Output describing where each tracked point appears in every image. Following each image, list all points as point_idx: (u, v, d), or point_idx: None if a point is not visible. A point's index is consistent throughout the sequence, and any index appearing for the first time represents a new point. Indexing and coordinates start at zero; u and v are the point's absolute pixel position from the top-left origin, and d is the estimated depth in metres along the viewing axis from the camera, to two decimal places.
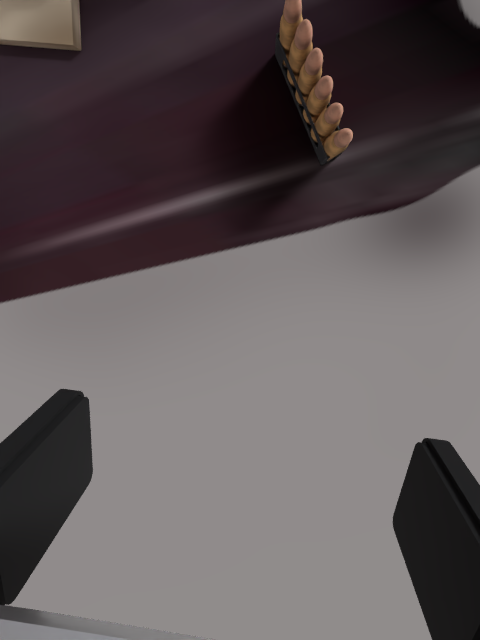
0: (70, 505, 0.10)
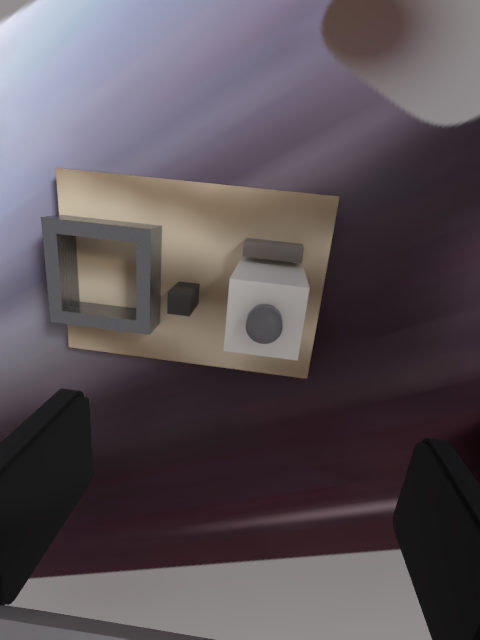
0: (70, 505, 0.10)
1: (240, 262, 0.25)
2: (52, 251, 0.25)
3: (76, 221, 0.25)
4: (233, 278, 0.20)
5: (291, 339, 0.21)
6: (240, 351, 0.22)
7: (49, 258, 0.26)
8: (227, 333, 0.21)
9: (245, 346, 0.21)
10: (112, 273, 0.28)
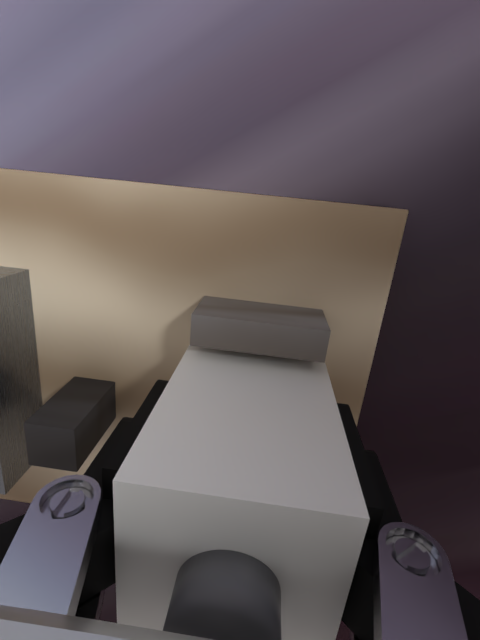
0: None
1: (185, 359, 0.11)
2: None
3: None
4: (127, 475, 0.06)
5: (307, 634, 0.07)
6: None
7: None
8: (123, 608, 0.07)
9: None
10: None
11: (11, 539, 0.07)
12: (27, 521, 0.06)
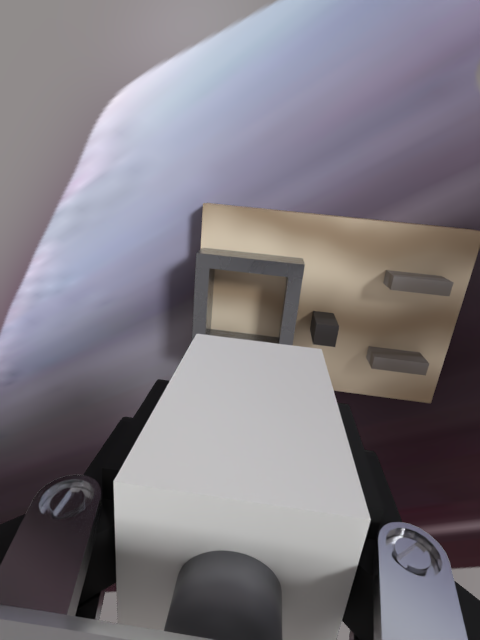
0: None
1: (185, 359, 0.11)
2: (203, 284, 0.26)
3: (230, 256, 0.26)
4: (128, 475, 0.06)
5: (308, 635, 0.07)
6: None
7: (199, 291, 0.27)
8: (124, 609, 0.07)
9: None
10: (247, 302, 0.29)
11: (11, 539, 0.07)
12: (27, 521, 0.06)
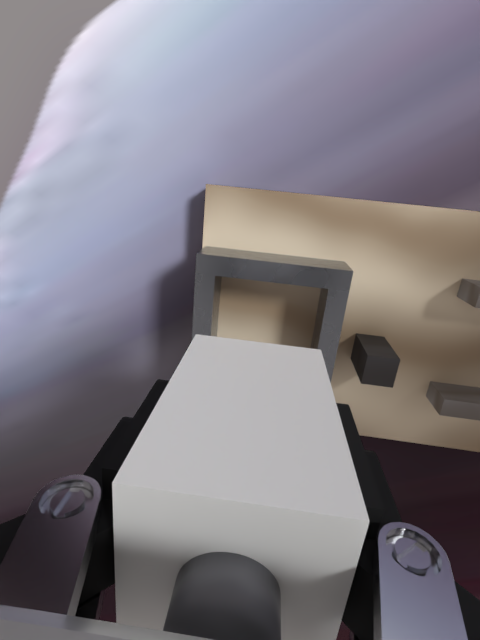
0: None
1: (184, 360, 0.11)
2: (205, 298, 0.19)
3: (245, 259, 0.18)
4: (126, 477, 0.06)
5: (306, 637, 0.07)
6: None
7: (200, 308, 0.19)
8: (122, 610, 0.07)
9: None
10: (265, 321, 0.21)
11: (11, 539, 0.07)
12: (27, 521, 0.06)
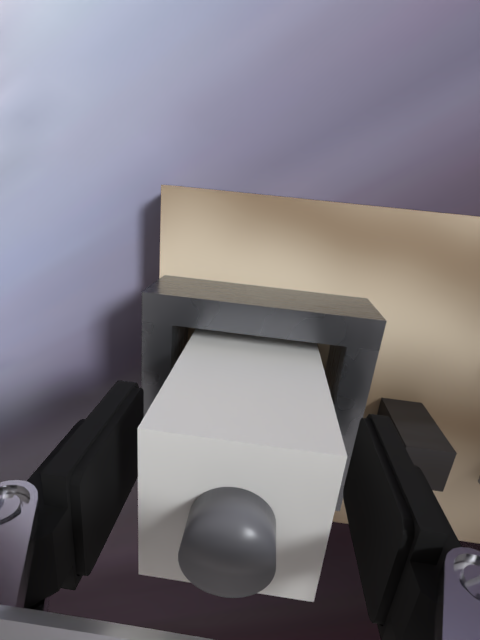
0: (128, 489, 0.10)
1: (192, 340, 0.12)
2: (159, 358, 0.12)
3: (218, 301, 0.11)
4: (149, 424, 0.08)
5: (298, 562, 0.09)
6: (178, 577, 0.09)
7: (152, 372, 0.12)
8: (144, 542, 0.09)
9: None
10: None
11: None
12: None
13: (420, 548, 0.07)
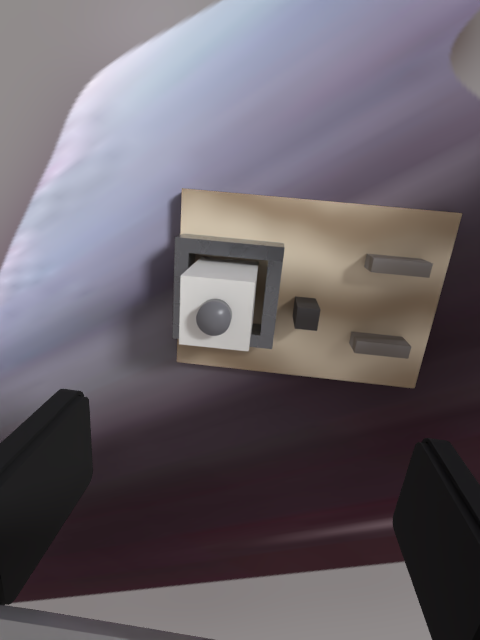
0: (70, 505, 0.10)
1: (198, 261, 0.26)
2: (182, 270, 0.26)
3: (210, 240, 0.25)
4: (184, 275, 0.22)
5: (241, 331, 0.22)
6: (194, 344, 0.23)
7: (179, 277, 0.26)
8: (181, 327, 0.23)
9: (199, 339, 0.23)
10: None
11: None
12: None
13: None
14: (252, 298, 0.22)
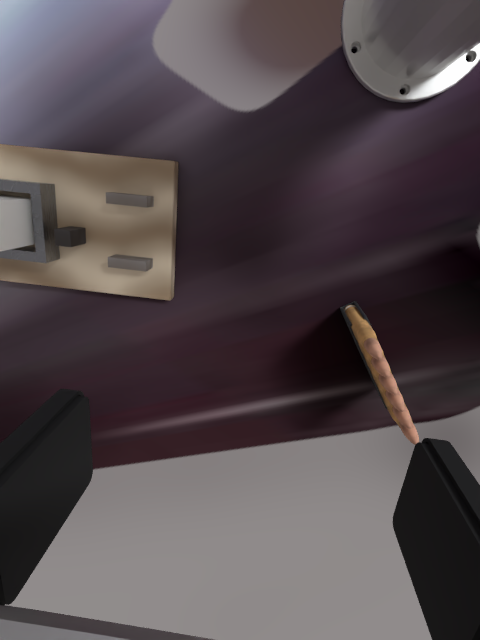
0: (70, 505, 0.10)
1: None
2: None
3: None
4: None
5: None
6: None
7: None
8: None
9: None
10: None
11: None
12: None
13: None
14: None
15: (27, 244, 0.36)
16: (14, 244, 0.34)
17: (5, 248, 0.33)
